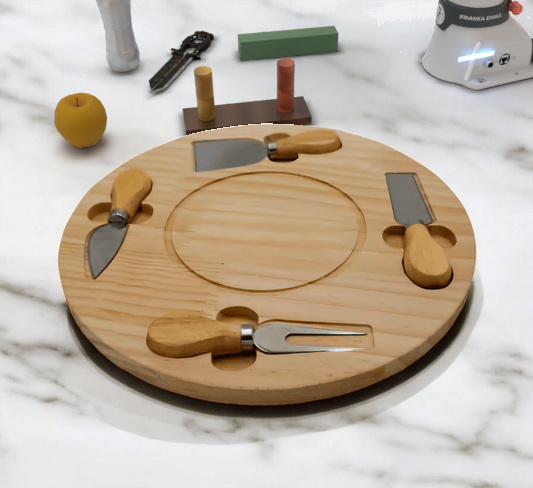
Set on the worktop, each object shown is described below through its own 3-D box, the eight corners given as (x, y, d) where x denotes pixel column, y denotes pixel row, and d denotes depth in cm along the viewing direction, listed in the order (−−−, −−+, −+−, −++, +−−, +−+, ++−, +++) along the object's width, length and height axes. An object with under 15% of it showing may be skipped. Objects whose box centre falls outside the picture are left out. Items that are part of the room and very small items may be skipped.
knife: (157, 98, 121) (156, 92, 120) (128, 91, 123) (127, 84, 122) (222, 40, 138) (221, 34, 137) (195, 34, 140) (194, 28, 139)
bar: (333, 43, 136) (334, 25, 133) (337, 51, 133) (338, 33, 131) (238, 52, 134) (237, 34, 131) (240, 60, 131) (240, 42, 128)
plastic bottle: (102, 72, 128) (81, -30, 115) (120, 56, 133) (102, -44, 119) (130, 78, 127) (112, -25, 113) (148, 62, 131) (132, -39, 117)
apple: (87, 164, 107) (75, 118, 101) (50, 148, 110) (36, 103, 104) (121, 138, 112) (112, 93, 106) (85, 124, 115) (74, 79, 109)
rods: (303, 103, 120) (304, 50, 112) (311, 124, 115) (313, 70, 107) (183, 115, 117) (177, 62, 110) (186, 137, 112) (180, 83, 105)
